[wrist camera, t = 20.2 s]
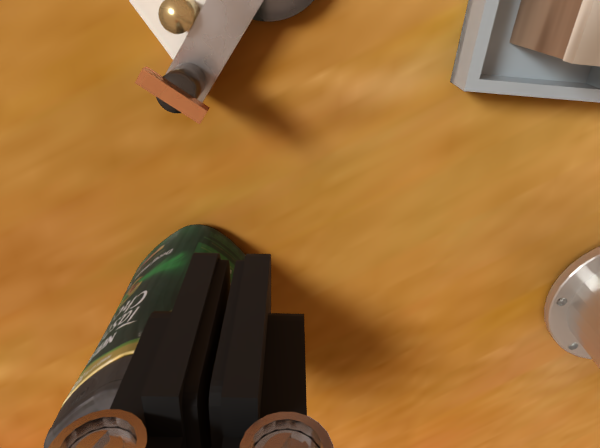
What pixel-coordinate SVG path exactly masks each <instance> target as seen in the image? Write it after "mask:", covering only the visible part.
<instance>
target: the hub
mask: <svg viewBox="0 0 600 448" xmlns="http://www.w3.org/2000/svg"><path fill="white" fill-rule="evenodd" d="M313 1H314V0H264V1H263V3H262V4H261V6H260V8H259V9H258V11H257V13H256V14H255V16H254V18H253V19H254V20H258V21H279V20H283V19H287V18H289V17H292V16H294V15H296V14H298V13H299V12H301V11H303V10H304V9H305V8H306V7H308V6H309V5H310V4H311V3H312V2H313Z"/></svg>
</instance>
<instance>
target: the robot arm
mask: <svg viewBox="0 0 600 448" xmlns="http://www.w3.org/2000/svg"><path fill="white" fill-rule="evenodd" d="M544 320H545V323H546V326H547V329H548V331H549V332H550V334H551V336H552V337H553V339H554V340H555V341H556V342H557V343H558V345H559V346H560V347H561V348H563V349H564V350H565V351H567V352H569V353H571V354H573V355H576V356H578V357H582V358H587V359H593V361H594V362H595V363H596V365H597V366H598V367H599V368H600V247H597V248H595V249H593V250H591V251H590V252H588V253H586V254H584V255H583V256H581V257H580V258H578V259H577V260H576V261H575V262H573V263H572V264H571V265H569V266H568V267H567V268H566V270H565V271H564V272H563V273H562V274H561V275H560V276H559V277H558V279H557V280H556V281H555V283H554V284H553V286H552V287H551V290H550V292H549V294H548V296H547V299H546V303H545V307H544ZM48 448H334V447H333V444H332V442H331V439H330V437H329V435H328V433H327V431H326V430H325V429H324V428H323V427H322V426H321V425H320V424H319V423H318V422H317V421H315V420H313V419H312V418H310V417H309V416H307V408H306V370H305V333H304V314H279V313H271V254H246V256H245V260H236V262H235V267H234V272H233V277H232V282H230V263H229V260H221V257H220V254H219V253H193V255H192V258H191V261H190V264H189V266H188V269H187V272H186V274H185V277H184V280H183V283H182V285H181V288H180V291H179V294H178V296H177V299H176V302H175V305H174V307H173V310H172V311H154V312H152V313H151V315H150V316H149V318H148V321H147V323H146V325H145V328H144V330H143V332H142V335H141V337H140V339H139V342H138V344H137V346H136V349H135V351H134V353H133V356H132V358H131V360H130V363H129V365H128V367H127V370H126V372H125V374H124V377H123V379H122V381H121V384H120V386H119V388H118V391H117V393H116V395H115V398H114V400H113V402H112V405H111V407H110V409H105V410H101V411H97V412H92V413H89V414H87V415H85V416H83V417H81V418H79V419H76V420H75V421H74V422H72V423H71V424H70V425H68V426H67V427H65V428H64V429H63V430H62V431H61V432H60V433H59V434H58V436H57V437H56V438H55V439H54V440H53V441H52V443H51V444H50V445H49V447H48Z"/></svg>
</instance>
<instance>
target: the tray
mask: <svg viewBox="0 0 600 448" xmlns="http://www.w3.org/2000/svg"><path fill="white" fill-rule="evenodd" d="M520 2H521V0H469V1H468V6H467V10H466V14H465V19H464V23H463V28H462V32H461V36H460V41H459V45H458V50H457V54H456V59H455V63H454V67H453V72H452V76H451V81H450V82H451V83H453V84H454V85H456V86H457V87H459V88H460V89H462V90H463V91H470V92H481V93H493V94H505V95H517V96H529V97H541V98H552V99H564V100H576V101H588V102H600V66H590V65H580V64H572V63H569V62H565V61H563V59H560V58H557V57H554V56H550V55H547V54H544V53H541V52H538V51H534V50H531V49H528V48H525V47H521V46H518V45H515V44H512V43H509V42H510V38H511V35H512V31H513V27H514V24H515V20H516V17H517V13H518V10H519V6H520Z"/></svg>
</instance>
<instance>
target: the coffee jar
mask: <svg viewBox="0 0 600 448" xmlns="http://www.w3.org/2000/svg"><path fill="white" fill-rule="evenodd" d="M193 253H219V254H220V257H221V260H229V263H230V282H232V277H233V272H234V267H235V262H236V260H245V254H244V253H243V252H242V251H241V250H240V248H239V247H237V246H236V245H235V244H234V243H233V242H232V241H231V240H230V239H229V238H227V237H226V236H225V235H224V234H222V233H221V232H219V231H217V230H216V229H214V228H211V227H209V226H205V225H189V226H186V227H183V228H181V229H180V230H178V231H177V232H175V233H173V234H172V235H170V236H169V237H168V238H166V239H165V240H164V241H163V242H161V243H160V244H159V245H158V246H157V247H156V248H155V249H154V250H153V251H152V252H151V253H150V254H149V255H148V256H147V257H146V258H145V259H144V261H143V262H142V263H141V264H140V266H139V267H138V269H137V271H136V273H135V275H134V277H133V278H132V280H131V282H130V284H129V286H128V288H127V291H126V293H125V295H124V297H123V299H122V301H121V303H120V305H119V307H118V309H117V311H116V313H115V315H114V316H113V318H112V320H111V322H110V324H109V326H108V328H107V330H106V332H105V333H104V335H103V337H102V339H101V341H100V342H99V344H98V347H97V348H96V350H95V352H94V354H93V355H92V357H91V358H90V360H89V362H88V364H87V365H86V367H85V369H84V370H83V372H82V373H81V375H80V377H79V378H78V380H77V382H76V383H75V385H74V387H73V388H72V390H71V391H70V393H69V395H68V396H67V398H66V399H65V401H64V403H63V405H62V408H61V410H60V411H59V414H58V416H57V418H56V419H55V421H54V423H53V425H52V427H51V428H50V430H49V432H48V434H47V437H46V439H45V443H44V448H48V447H49V445H50V444H51V443H52V441H53V440H54V439H55V438H56V437H57V436H58V434H59V433H60V432H61V431H62V430H63V429H64V428H65V427H67V426H68V425H70V424H71V423H72V422H74V421H75V420H76V419H79V418H81V417H83V416H85V415H87V414H89V413H92V412H97V411H101V410H105V409H110V407H111V405H112V402H113V400H114V398H115V395H116V393H117V391H118V388H119V386H120V384H121V381H122V379H123V377H124V374H125V372H126V370H127V367H128V365H129V363H130V360H131V358H132V356H133V353H134V351H135V349H136V346H137V344H138V342H139V339H140V337H141V335H142V332H143V330H144V328H145V325H146V323H147V321H148V318H149V316H150V315H151V313H152V312H154V311H172V310H173V307H174V305H175V302H176V299H177V296H178V294H179V291H180V288H181V285H182V283H183V280H184V277H185V274H186V272H187V269H188V266H189V264H190V261H191V258H192V255H193Z"/></svg>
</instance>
